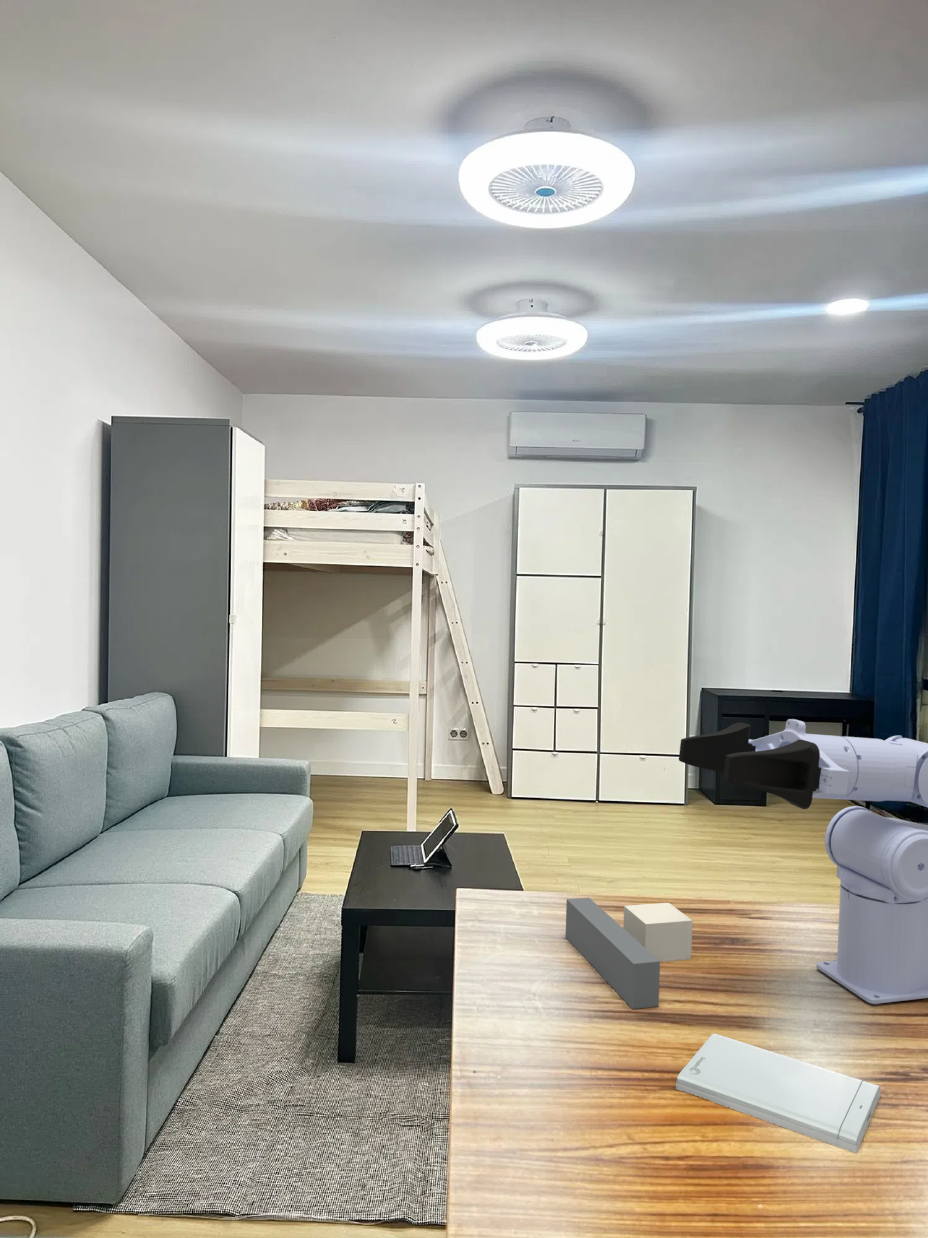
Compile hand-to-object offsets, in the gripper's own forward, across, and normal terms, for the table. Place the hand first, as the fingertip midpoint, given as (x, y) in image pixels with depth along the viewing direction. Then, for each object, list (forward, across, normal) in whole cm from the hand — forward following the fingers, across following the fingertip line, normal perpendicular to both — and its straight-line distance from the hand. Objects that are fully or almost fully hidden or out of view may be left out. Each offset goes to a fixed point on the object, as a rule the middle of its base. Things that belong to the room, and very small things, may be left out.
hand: (702, 758), depth 79 cm
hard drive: (-1, +14, +22) cm, 27 cm away
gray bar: (+3, -8, +22) cm, 24 cm away
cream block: (-4, -11, +22) cm, 25 cm away
